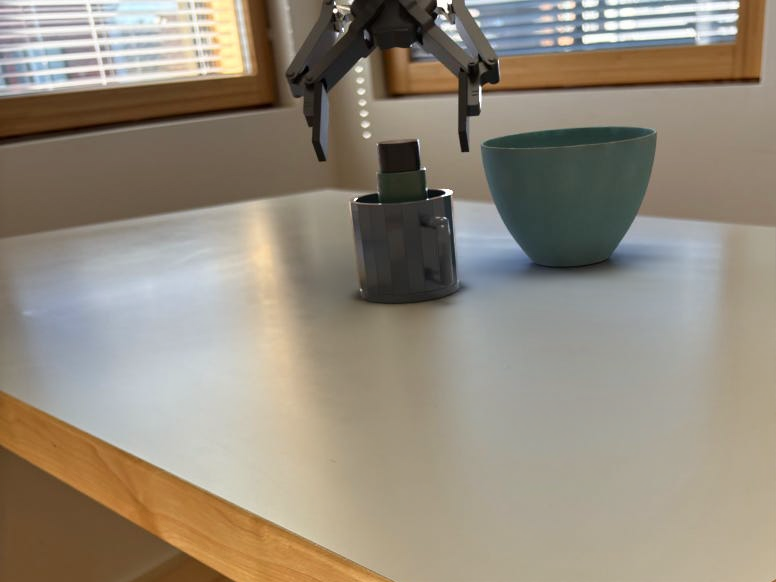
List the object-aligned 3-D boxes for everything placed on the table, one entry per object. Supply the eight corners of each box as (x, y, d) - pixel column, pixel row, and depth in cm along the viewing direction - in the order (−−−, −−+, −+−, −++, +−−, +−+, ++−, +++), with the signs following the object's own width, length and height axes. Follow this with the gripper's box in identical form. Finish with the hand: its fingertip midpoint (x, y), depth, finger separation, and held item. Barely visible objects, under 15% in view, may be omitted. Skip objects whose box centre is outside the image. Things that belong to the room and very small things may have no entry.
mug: (344, 292, 106) (332, 198, 102) (429, 276, 110) (421, 185, 106) (405, 314, 96) (394, 211, 91) (496, 295, 100) (490, 196, 96)
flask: (380, 283, 105) (363, 143, 98) (421, 275, 107) (408, 137, 100) (401, 290, 101) (386, 145, 95) (443, 282, 103) (431, 139, 97)
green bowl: (675, 267, 106) (678, 134, 99) (499, 284, 104) (492, 151, 98) (631, 238, 121) (632, 122, 115) (478, 252, 120) (471, 136, 114)
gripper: (524, -15, 103) (527, 166, 98) (282, 4, 106) (271, 182, 100) (520, -84, 96) (522, 107, 91) (260, -62, 98) (247, 126, 93)
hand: (391, 147), depth 96 cm, fingers open, 13 cm apart
